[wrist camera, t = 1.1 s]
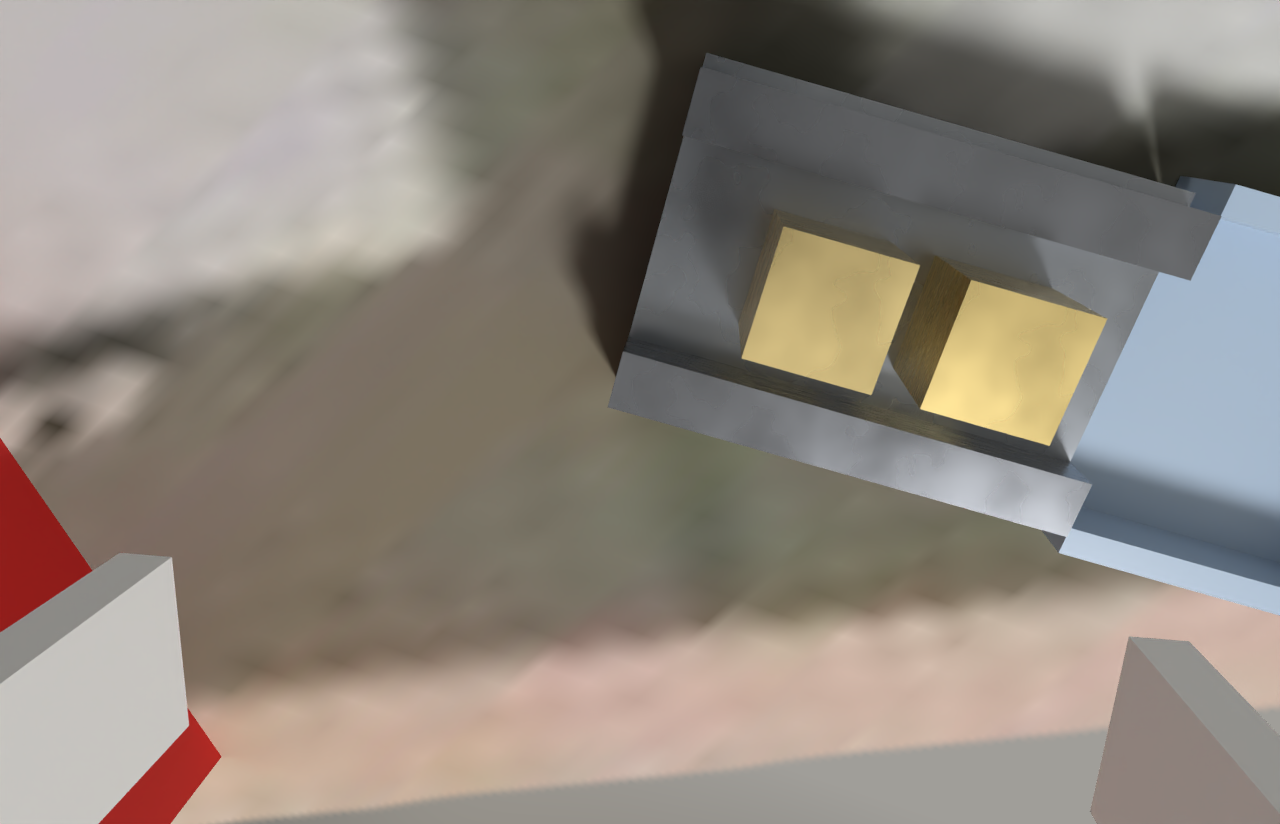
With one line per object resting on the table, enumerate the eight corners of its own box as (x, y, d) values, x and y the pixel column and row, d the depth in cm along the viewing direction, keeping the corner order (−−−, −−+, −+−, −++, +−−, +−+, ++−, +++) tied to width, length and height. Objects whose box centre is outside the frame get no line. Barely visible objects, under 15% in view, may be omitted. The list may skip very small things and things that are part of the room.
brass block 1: (774, 209, 30) (783, 226, 26) (891, 242, 30) (920, 265, 26) (738, 323, 31) (741, 358, 27) (850, 355, 31) (871, 395, 27)
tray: (1180, 175, 31) (1236, 184, 27) (1490, 264, 31) (1583, 283, 28) (1026, 510, 35) (1058, 552, 32) (1299, 587, 35) (1359, 638, 32)
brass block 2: (935, 254, 30) (971, 280, 26) (1052, 288, 30) (1107, 318, 26) (892, 367, 31) (920, 408, 27) (1004, 399, 31) (1049, 446, 27)
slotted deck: (707, 56, 31) (705, 48, 27) (1159, 186, 31) (1229, 199, 27) (618, 381, 35) (604, 420, 31) (1019, 495, 35) (1060, 549, 31)
